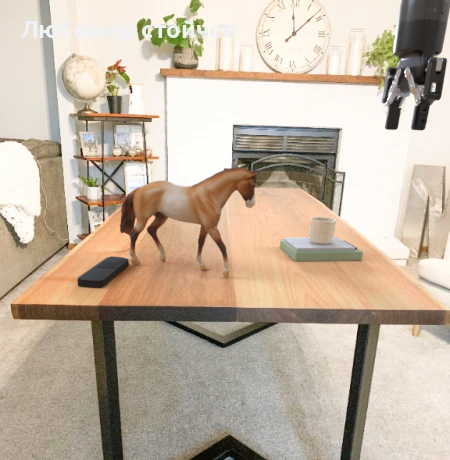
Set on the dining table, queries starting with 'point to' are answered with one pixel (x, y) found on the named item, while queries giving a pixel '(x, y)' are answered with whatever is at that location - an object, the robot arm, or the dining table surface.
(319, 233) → the white ceramic cup
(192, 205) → the horse figurine
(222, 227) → the dining table surface
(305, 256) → the scale
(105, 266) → the remote control
